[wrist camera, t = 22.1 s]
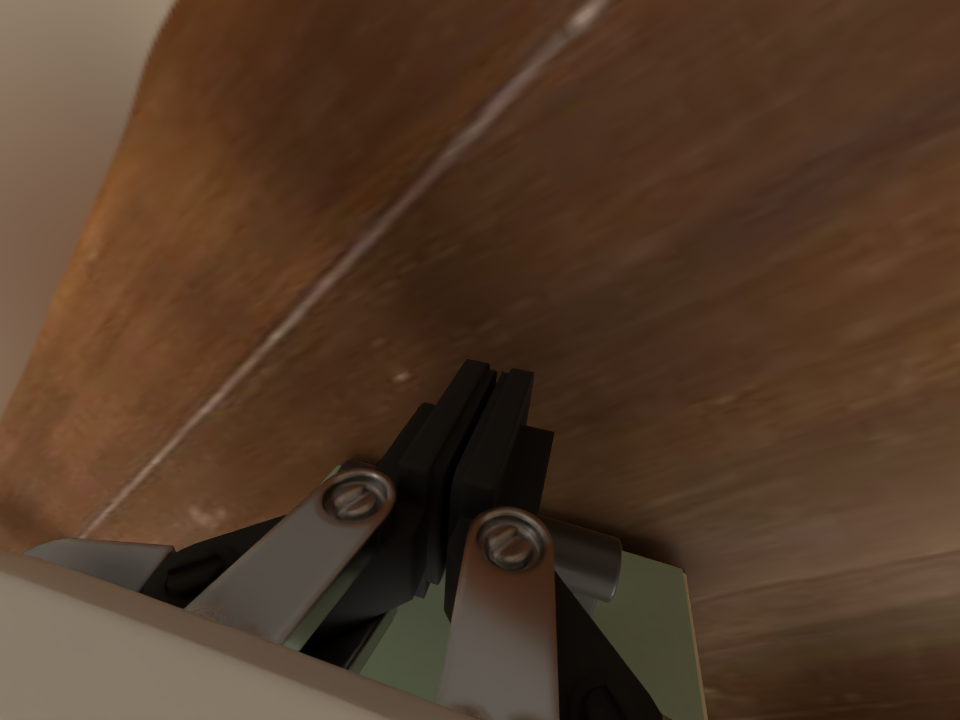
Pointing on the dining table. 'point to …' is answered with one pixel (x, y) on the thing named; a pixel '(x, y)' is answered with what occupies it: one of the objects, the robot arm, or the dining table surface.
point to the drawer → (602, 593)
